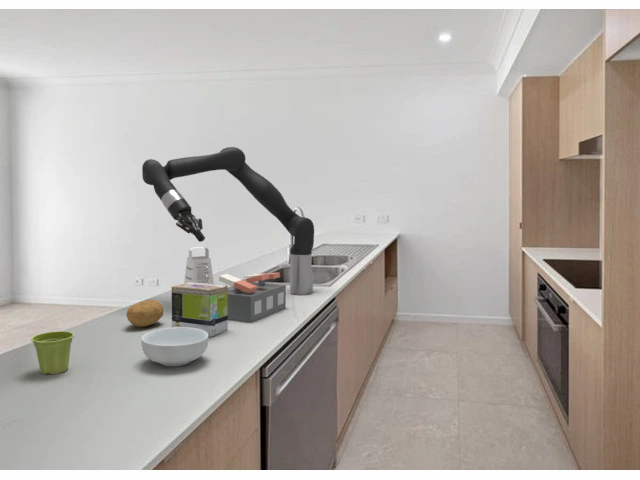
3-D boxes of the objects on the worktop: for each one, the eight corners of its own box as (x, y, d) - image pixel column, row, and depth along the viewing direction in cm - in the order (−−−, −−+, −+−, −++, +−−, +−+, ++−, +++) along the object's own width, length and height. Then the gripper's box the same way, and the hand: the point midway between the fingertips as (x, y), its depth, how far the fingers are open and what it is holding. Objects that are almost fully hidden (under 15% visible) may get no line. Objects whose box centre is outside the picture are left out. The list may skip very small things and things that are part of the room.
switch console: (257, 301, 215) (257, 275, 214) (293, 305, 208) (293, 278, 207) (211, 317, 187) (211, 287, 186) (251, 322, 180) (251, 291, 179)
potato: (117, 329, 169) (117, 304, 168) (146, 319, 182) (146, 296, 182) (142, 333, 166) (142, 307, 165) (170, 322, 179) (170, 299, 178)
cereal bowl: (127, 367, 135) (126, 339, 134) (168, 349, 150) (168, 324, 149) (184, 376, 128) (183, 347, 128) (220, 356, 144) (220, 331, 143)
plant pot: (41, 380, 124) (40, 344, 124) (26, 370, 131) (25, 336, 130) (81, 370, 131) (80, 336, 131) (65, 361, 138) (64, 329, 137)
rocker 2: (239, 284, 199) (238, 279, 199) (269, 278, 193) (268, 273, 193) (232, 286, 194) (231, 281, 194) (262, 280, 189) (261, 275, 189)
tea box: (228, 330, 171) (228, 284, 169) (209, 338, 161) (209, 290, 160) (191, 324, 177) (190, 280, 175) (170, 331, 168) (170, 285, 166)
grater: (215, 295, 226) (215, 248, 224) (191, 297, 220) (191, 249, 218) (205, 291, 234) (205, 245, 232) (182, 293, 228) (182, 247, 227)
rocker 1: (226, 278, 191) (227, 273, 191) (256, 291, 186) (257, 286, 186) (218, 280, 187) (219, 275, 186) (248, 293, 182) (250, 288, 182)
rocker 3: (250, 279, 206) (250, 274, 206) (280, 276, 201) (279, 272, 201) (244, 281, 202) (243, 276, 202) (273, 278, 196) (273, 274, 196)
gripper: (170, 197, 189) (197, 234, 185) (193, 198, 201) (219, 232, 197) (158, 211, 192) (184, 248, 188) (181, 211, 204) (207, 245, 200)
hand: (202, 240), depth 192 cm, fingers closed
